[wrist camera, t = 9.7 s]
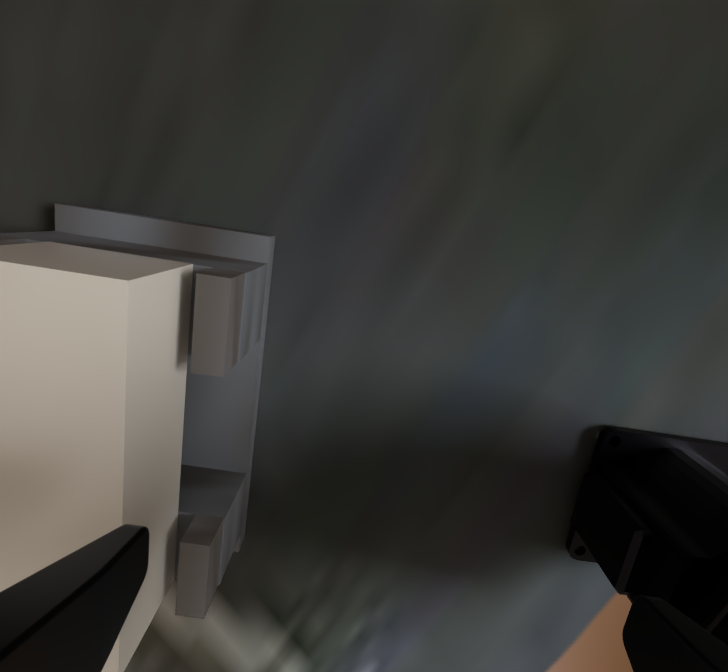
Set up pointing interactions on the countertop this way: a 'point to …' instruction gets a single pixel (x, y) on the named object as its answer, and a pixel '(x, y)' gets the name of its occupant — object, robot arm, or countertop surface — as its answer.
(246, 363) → the dark grey angular piece
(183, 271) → the clay block
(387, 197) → the countertop surface
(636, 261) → the countertop surface
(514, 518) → the countertop surface
